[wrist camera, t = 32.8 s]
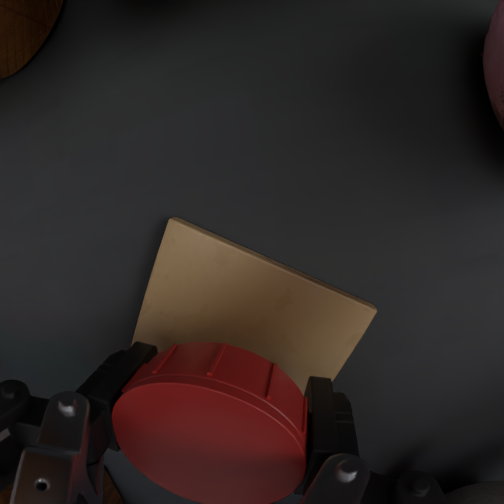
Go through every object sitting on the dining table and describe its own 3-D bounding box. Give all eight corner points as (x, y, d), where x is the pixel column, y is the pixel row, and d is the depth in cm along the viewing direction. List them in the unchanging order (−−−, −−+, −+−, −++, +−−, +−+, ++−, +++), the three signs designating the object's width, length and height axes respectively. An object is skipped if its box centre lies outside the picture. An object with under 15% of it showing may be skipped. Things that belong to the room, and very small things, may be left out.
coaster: (374, 304, 11) (378, 310, 10) (282, 439, 13) (281, 448, 13) (174, 215, 11) (168, 217, 11) (127, 373, 13) (122, 380, 13)
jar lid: (112, 382, 10) (81, 417, 8) (228, 304, 8) (204, 344, 6) (216, 478, 10) (202, 516, 8) (342, 432, 8) (345, 481, 6)
